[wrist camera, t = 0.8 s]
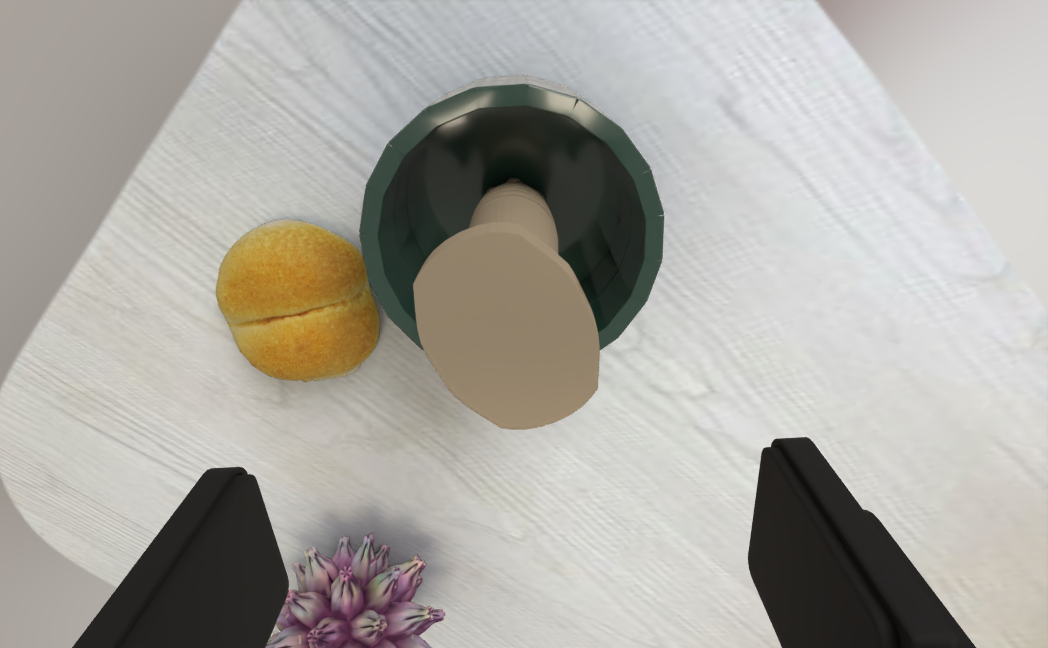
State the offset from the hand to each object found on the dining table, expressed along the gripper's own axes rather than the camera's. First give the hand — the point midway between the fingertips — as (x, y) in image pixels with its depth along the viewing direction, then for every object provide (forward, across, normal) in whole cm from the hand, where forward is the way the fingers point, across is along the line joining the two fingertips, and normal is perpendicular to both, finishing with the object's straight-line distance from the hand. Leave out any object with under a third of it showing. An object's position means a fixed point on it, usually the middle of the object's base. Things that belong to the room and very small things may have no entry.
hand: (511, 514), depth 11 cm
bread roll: (+22, +12, +4) cm, 26 cm away
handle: (+22, 0, 0) cm, 22 cm away
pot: (+22, 0, 0) cm, 22 cm away
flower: (+23, +12, +24) cm, 36 cm away
